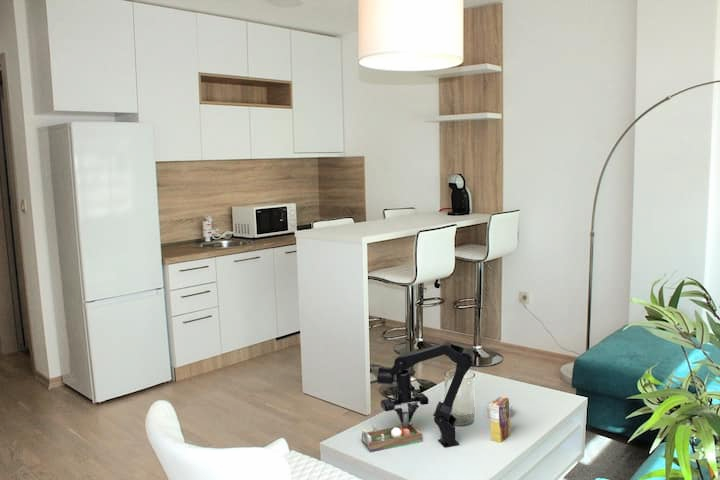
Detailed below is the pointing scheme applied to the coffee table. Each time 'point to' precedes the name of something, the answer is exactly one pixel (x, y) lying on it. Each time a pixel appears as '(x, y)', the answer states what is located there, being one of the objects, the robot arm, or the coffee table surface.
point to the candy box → (500, 419)
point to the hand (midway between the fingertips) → (405, 422)
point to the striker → (405, 424)
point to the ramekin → (489, 408)
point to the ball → (396, 432)
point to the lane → (389, 438)
